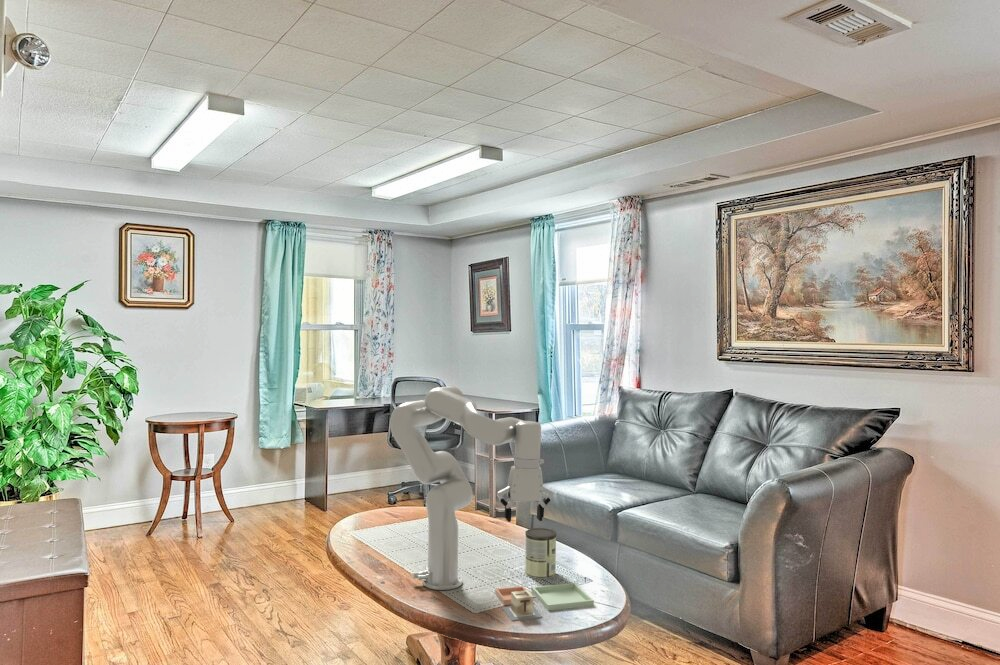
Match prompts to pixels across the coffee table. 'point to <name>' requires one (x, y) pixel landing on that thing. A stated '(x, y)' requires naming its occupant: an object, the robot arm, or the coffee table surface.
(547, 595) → the green tray
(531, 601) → the letter cube
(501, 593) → the terracotta dish
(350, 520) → the coffee table surface
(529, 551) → the coffee can
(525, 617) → the grey framed white tile
